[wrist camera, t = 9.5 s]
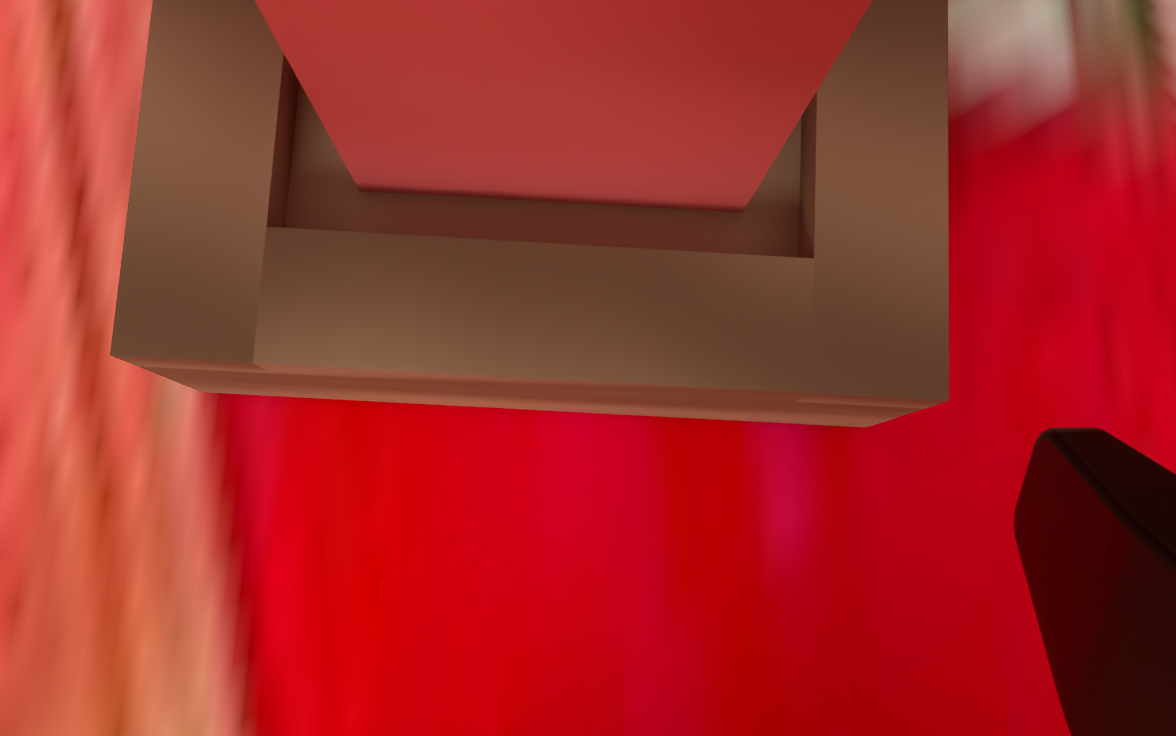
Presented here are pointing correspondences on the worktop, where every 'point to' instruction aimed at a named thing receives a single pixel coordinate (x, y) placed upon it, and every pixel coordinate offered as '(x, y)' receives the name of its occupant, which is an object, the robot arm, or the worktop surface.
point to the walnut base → (539, 254)
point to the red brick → (563, 93)
